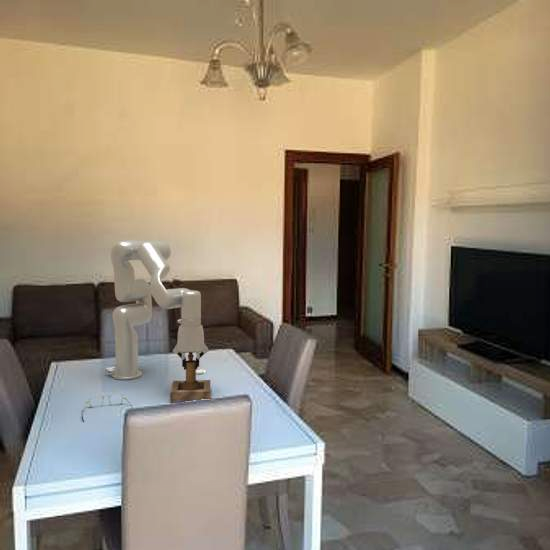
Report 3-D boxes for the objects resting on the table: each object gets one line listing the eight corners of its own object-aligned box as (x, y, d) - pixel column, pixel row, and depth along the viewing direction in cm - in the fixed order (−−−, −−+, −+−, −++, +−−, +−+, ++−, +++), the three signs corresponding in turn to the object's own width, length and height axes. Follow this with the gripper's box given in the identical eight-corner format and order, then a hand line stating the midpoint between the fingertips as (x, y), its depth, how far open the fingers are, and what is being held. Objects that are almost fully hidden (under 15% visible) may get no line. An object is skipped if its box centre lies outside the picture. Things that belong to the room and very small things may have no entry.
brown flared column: (185, 392, 199) (184, 346, 197) (180, 387, 204) (179, 342, 203) (201, 390, 202) (201, 344, 200) (196, 385, 208) (196, 341, 206)
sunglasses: (130, 404, 194) (129, 391, 194) (133, 418, 180) (133, 404, 180) (81, 408, 188) (81, 395, 188) (81, 423, 174) (81, 409, 174)
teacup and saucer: (204, 375, 233) (204, 366, 232) (186, 375, 233) (186, 366, 232) (207, 370, 241) (207, 361, 241) (190, 370, 242) (190, 361, 241)
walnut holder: (170, 402, 195) (170, 392, 195) (173, 390, 210) (173, 380, 209) (210, 401, 197) (210, 391, 196) (210, 389, 212) (210, 379, 211)
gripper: (168, 324, 196) (168, 371, 198) (212, 324, 198) (212, 371, 200) (169, 320, 203) (169, 366, 205) (212, 320, 205) (212, 365, 207)
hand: (190, 368), depth 202 cm, fingers closed on brown flared column, 3 cm apart
